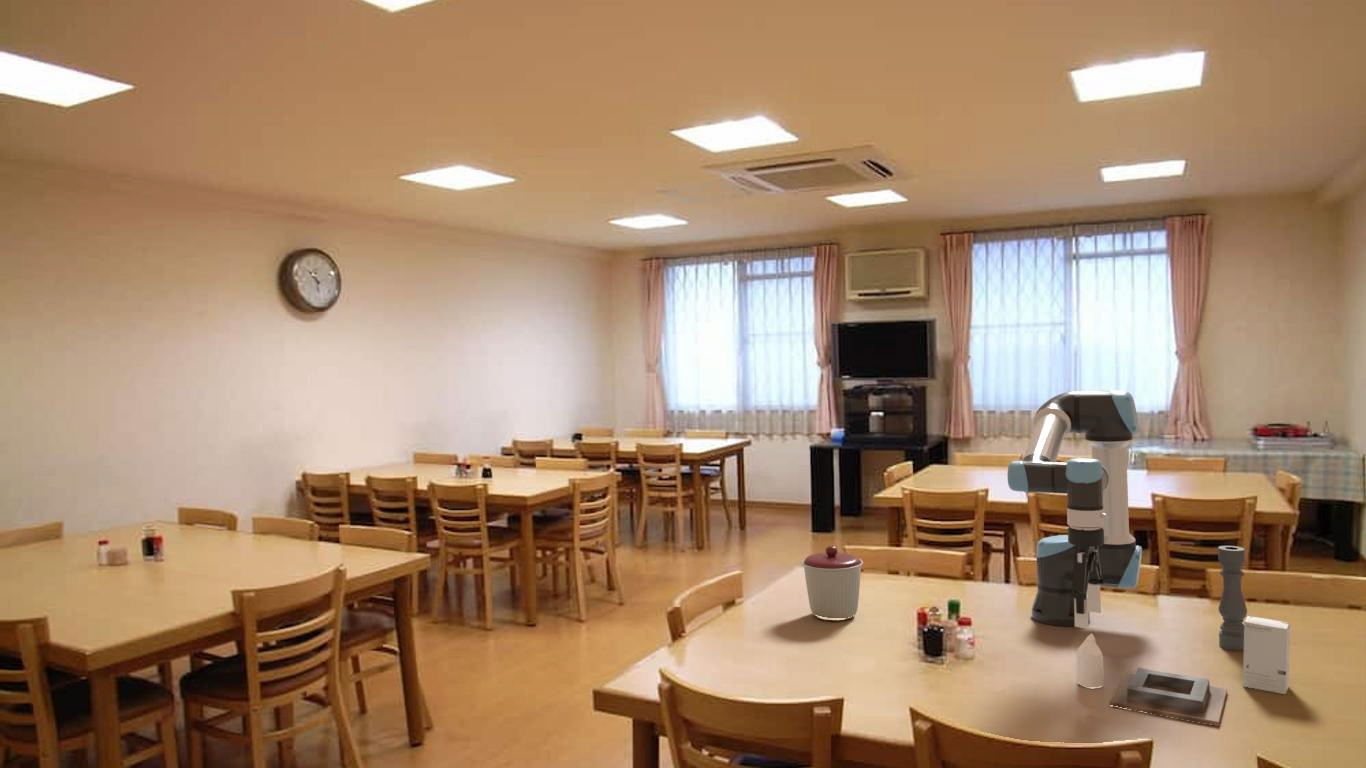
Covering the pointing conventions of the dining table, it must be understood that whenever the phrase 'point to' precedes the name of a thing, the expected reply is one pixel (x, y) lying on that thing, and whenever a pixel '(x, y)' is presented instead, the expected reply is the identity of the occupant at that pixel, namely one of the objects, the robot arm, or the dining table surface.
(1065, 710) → the dining table surface
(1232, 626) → the candle holder
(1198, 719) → the socket
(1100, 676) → the white bottle-shaped piece
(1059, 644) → the dining table surface
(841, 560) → the canister
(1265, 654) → the skincare box
